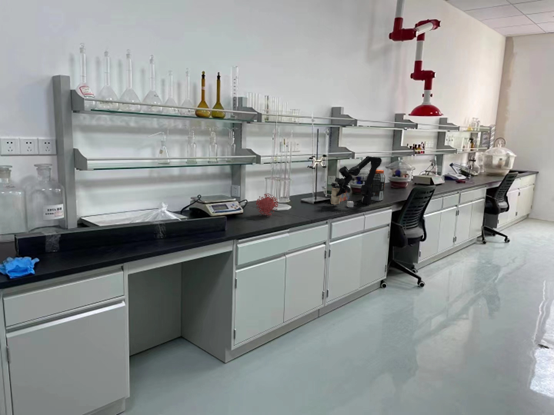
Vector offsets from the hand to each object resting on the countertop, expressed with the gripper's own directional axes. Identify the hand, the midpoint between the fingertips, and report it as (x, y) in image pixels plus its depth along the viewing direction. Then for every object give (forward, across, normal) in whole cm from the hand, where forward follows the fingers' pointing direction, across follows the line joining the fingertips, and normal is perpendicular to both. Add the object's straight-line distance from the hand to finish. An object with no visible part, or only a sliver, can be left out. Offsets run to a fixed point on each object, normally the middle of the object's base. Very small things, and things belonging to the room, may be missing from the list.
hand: (334, 195), depth 323 cm
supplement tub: (-34, -14, +47) cm, 59 cm away
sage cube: (-1, -9, +13) cm, 16 cm away
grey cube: (-2, +6, +14) cm, 16 cm away
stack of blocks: (-10, -20, +23) cm, 32 cm away
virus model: (+53, +12, -42) cm, 69 cm away
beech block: (+4, 0, +6) cm, 7 cm away
